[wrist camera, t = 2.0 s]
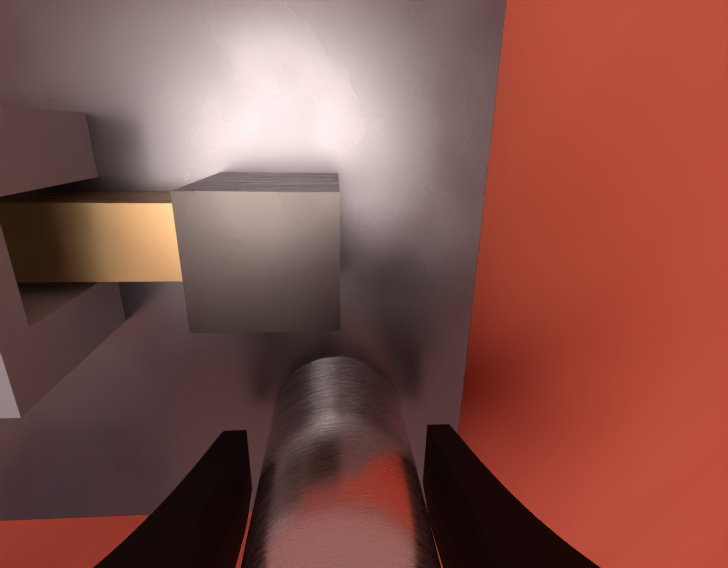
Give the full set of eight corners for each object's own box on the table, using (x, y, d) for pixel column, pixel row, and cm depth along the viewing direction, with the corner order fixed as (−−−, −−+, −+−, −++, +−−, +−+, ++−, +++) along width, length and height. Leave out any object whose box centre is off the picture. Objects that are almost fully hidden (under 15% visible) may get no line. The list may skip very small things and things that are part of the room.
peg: (397, 459, 14) (467, 817, 7) (277, 464, 14) (216, 844, 7) (402, 355, 13) (497, 662, 6) (270, 358, 13) (182, 686, 5)
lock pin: (338, 275, 12) (340, 331, 9) (-80, 278, 11) (-251, 339, 8) (338, 173, 11) (340, 192, 8) (-120, 168, 10) (-333, 187, 7)
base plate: (443, 480, 16) (450, 501, 15) (-311, 508, 14) (-356, 535, 14) (494, -18, 11) (510, -32, 10) (-710, -67, 9) (-833, -90, 8)
